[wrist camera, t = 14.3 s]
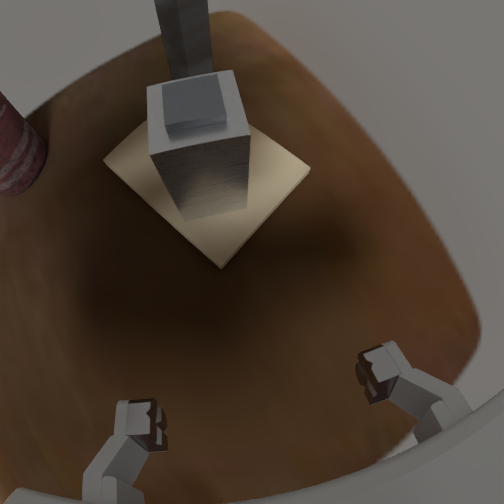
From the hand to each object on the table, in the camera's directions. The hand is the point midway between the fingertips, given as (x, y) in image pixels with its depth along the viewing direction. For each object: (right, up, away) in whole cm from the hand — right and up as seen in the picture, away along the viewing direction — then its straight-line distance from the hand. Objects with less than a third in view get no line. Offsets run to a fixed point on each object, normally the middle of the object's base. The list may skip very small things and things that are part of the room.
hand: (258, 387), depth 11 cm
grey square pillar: (-3, +9, +8) cm, 13 cm away
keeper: (-4, +12, +10) cm, 16 cm away
